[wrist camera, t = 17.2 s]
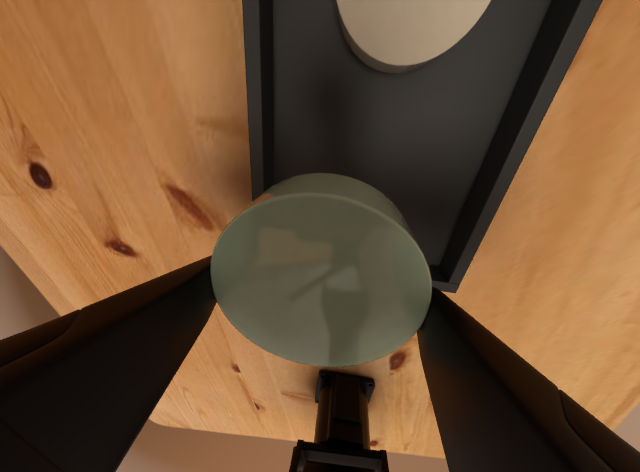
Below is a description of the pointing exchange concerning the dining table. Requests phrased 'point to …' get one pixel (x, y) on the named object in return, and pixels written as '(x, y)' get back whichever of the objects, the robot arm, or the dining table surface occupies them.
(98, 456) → the robot arm
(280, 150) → the tray
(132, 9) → the dining table surface
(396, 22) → the beige disc
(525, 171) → the dining table surface
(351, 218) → the pale green disc
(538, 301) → the dining table surface
